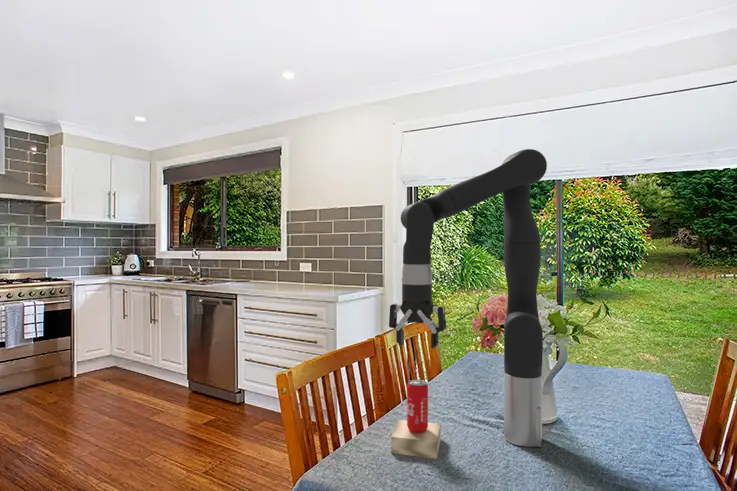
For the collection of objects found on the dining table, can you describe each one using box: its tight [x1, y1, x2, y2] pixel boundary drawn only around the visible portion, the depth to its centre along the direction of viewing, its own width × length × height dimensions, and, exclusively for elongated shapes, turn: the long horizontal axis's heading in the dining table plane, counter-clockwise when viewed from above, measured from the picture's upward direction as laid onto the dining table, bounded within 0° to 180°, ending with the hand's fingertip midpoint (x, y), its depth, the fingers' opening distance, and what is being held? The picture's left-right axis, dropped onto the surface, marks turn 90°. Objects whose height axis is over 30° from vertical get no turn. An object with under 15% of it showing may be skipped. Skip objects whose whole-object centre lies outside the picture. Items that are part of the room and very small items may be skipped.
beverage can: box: [406, 379, 429, 434], centre depth 111 cm, size 5×5×12 cm
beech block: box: [390, 419, 442, 460], centre depth 111 cm, size 11×11×4 cm
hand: (417, 346), depth 111 cm, fingers open, 8 cm apart
